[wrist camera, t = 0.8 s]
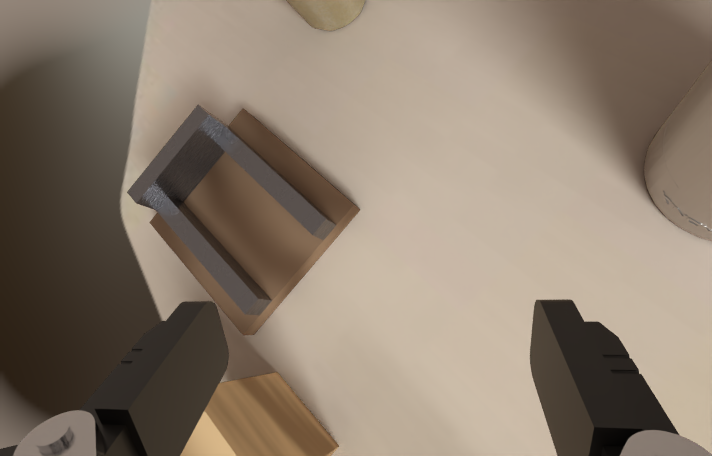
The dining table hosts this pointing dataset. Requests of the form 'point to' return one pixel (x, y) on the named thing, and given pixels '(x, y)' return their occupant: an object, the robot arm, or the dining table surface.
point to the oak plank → (258, 422)
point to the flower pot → (328, 12)
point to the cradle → (241, 212)
